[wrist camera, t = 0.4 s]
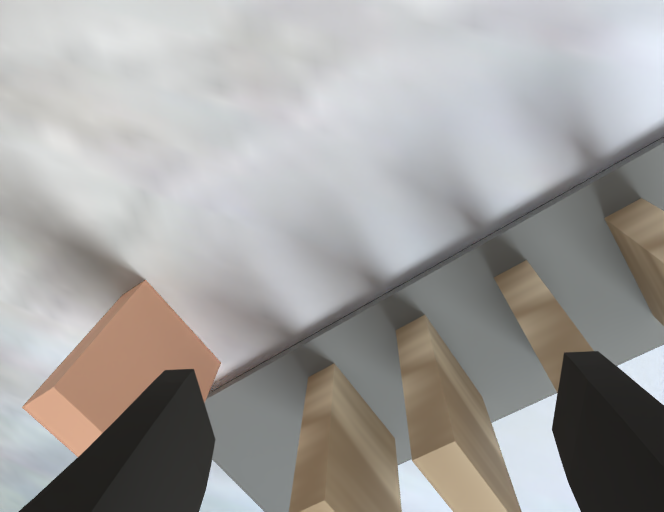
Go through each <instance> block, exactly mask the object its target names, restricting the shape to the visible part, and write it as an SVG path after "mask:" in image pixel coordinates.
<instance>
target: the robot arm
mask: <svg viewBox="0 0 664 512" xmlns="http://www.w3.org/2000/svg"><path fill="white" fill-rule="evenodd" d="M552 431H553V434H554V438H555V441H556V445H557V448H558V451H559V455H560V458H561V461H562V464H563V467H564V471H565V474H566V477H567V480H568V483H569V485H570V487H571V490H572V492H573V494H574V497H575V499H576V501H577V504H578V506H579V508H580V510H581V512H664V405H662V404H661V403H660V402H659V401H658V400H656V399H655V398H654V397H653V396H652V395H650V394H649V393H648V392H647V391H646V390H644V389H643V388H642V387H641V386H640V385H638V384H637V383H636V382H635V381H634V380H632V379H631V378H630V377H629V376H628V375H626V374H625V373H624V372H623V371H622V370H620V369H619V368H618V367H617V366H616V365H614V364H613V363H612V362H611V361H610V360H608V359H607V358H606V357H605V356H604V355H602V354H601V353H600V352H599V351H587V352H564V356H563V363H562V369H561V375H560V382H559V388H558V394H557V401H556V407H555V413H554V420H553V426H552ZM215 440H216V439H215V436H214V433H213V430H212V426H211V423H210V420H209V417H208V413H207V410H206V407H205V403H204V400H203V397H202V394H201V390H200V387H199V384H198V381H197V377H196V374H195V371H194V369H177V370H165V371H163V372H162V373H161V374H160V375H159V376H158V377H157V378H156V379H155V380H154V381H153V382H152V383H151V384H150V385H149V386H148V387H147V388H146V389H145V390H144V391H143V392H142V393H141V395H140V396H139V397H138V398H137V399H136V400H135V401H134V402H133V403H132V404H131V405H130V406H129V407H128V408H127V409H126V410H125V411H124V412H123V413H122V414H121V415H120V416H119V417H118V418H117V419H116V420H115V421H114V422H113V423H112V424H111V425H110V426H109V427H108V428H107V429H106V430H105V431H104V432H103V433H102V434H101V435H100V436H99V437H98V438H97V439H96V440H95V441H94V442H93V443H92V444H91V445H90V446H89V447H88V448H87V449H86V450H85V451H84V452H83V453H82V454H81V455H80V456H79V457H78V458H77V459H76V460H75V461H73V462H72V463H71V464H70V465H69V466H68V467H67V468H66V469H65V470H64V471H63V472H62V473H61V474H59V475H58V476H57V477H56V478H55V479H54V480H53V481H52V482H51V483H50V484H49V485H48V486H47V487H45V488H44V489H43V490H42V491H41V492H40V493H39V494H38V495H37V496H36V497H35V498H34V499H32V500H31V501H30V502H29V503H28V504H27V505H26V506H24V507H23V508H22V509H21V510H20V511H19V512H199V510H200V506H201V503H202V500H203V497H204V494H205V490H206V486H207V481H208V477H209V472H210V467H211V462H212V456H213V451H214V445H215Z"/></svg>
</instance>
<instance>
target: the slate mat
mask: <svg viewBox="0 0 664 512" xmlns="http://www.w3.org/2000/svg"><path fill="white" fill-rule="evenodd" d="M641 198H642V199H644V200H646V201H648V202H649V203H651V204H653V205H654V206H656V207H658V208H659V209H661V210H663V211H664V137H663V138H661V139H659V140H657V141H656V142H654V143H652V144H650V145H649V146H647V147H645V148H643V149H641V150H640V151H638V152H636V153H634V154H633V155H631V156H629V157H627V158H625V159H624V160H622V161H620V162H618V163H617V164H615V165H613V166H611V167H610V168H608V169H606V170H604V171H602V172H601V173H599V174H597V175H595V176H594V177H592V178H590V179H588V180H586V181H585V182H583V183H581V184H579V185H578V186H576V187H574V188H572V189H571V190H569V191H567V192H565V193H563V194H562V195H560V196H558V197H556V198H555V199H553V200H551V201H549V202H547V203H546V204H544V205H542V206H540V207H539V208H537V209H535V210H533V211H532V212H530V213H528V214H526V215H524V216H523V217H521V218H519V219H517V220H516V221H514V222H512V223H510V224H508V225H507V226H505V227H503V228H501V229H500V230H498V231H496V232H494V233H493V234H491V235H489V236H487V237H485V238H484V239H482V240H480V241H478V242H477V243H475V244H473V245H471V246H469V247H468V248H466V249H464V250H462V251H461V252H459V253H457V254H455V255H453V256H452V257H450V258H448V259H446V260H445V261H443V262H441V263H439V264H438V265H436V266H434V267H432V268H430V269H429V270H427V271H425V272H423V273H422V274H420V275H418V276H416V277H414V278H413V279H411V280H409V281H407V282H406V283H404V284H402V285H400V286H399V287H397V288H395V289H393V290H391V291H390V292H388V293H386V294H384V295H383V296H381V297H379V298H377V299H375V300H374V301H372V302H370V303H368V304H367V305H365V306H363V307H361V308H360V309H358V310H356V311H354V312H352V313H351V314H349V315H347V316H345V317H344V318H342V319H340V320H338V321H336V322H335V323H333V324H331V325H329V326H328V327H326V328H324V329H322V330H321V331H319V332H317V333H315V334H313V335H312V336H310V337H308V338H306V339H305V340H303V341H301V342H299V343H297V344H296V345H294V346H292V347H290V348H289V349H287V350H285V351H283V352H281V353H280V354H278V355H276V356H274V357H273V358H271V359H269V360H267V361H266V362H264V363H262V364H260V365H258V366H257V367H255V368H253V369H251V370H250V371H248V372H246V373H244V374H242V375H241V376H239V377H237V378H235V379H234V380H232V381H230V382H228V383H227V384H225V385H223V386H221V387H219V388H218V389H216V390H214V391H212V392H211V393H209V394H208V396H207V398H206V401H205V407H206V410H207V413H208V417H209V420H210V423H211V426H212V430H213V433H214V436H215V439H216V440H215V445H214V451H213V456H212V460H213V461H214V462H215V463H216V464H217V465H218V466H219V467H220V468H221V469H222V470H223V471H224V472H225V473H226V474H227V475H228V476H229V477H230V478H231V479H232V480H233V481H234V482H235V483H236V484H237V485H238V486H239V487H240V488H241V489H242V490H243V491H244V492H245V493H246V494H247V495H248V496H249V497H250V498H251V499H252V500H253V501H254V502H255V503H256V504H257V505H258V506H259V507H260V508H261V509H262V510H263V511H264V512H289V507H290V500H291V493H292V486H293V479H294V472H295V465H296V458H297V451H298V444H299V438H300V431H301V424H302V417H303V410H304V403H305V396H306V389H307V382H308V377H310V376H312V375H314V374H315V373H317V372H319V371H321V370H323V369H325V368H327V367H328V366H330V365H332V364H334V363H335V365H336V366H337V367H338V368H339V370H340V371H341V372H342V373H343V375H344V376H345V377H346V378H347V380H348V381H349V382H350V383H351V385H352V386H353V387H354V388H355V389H356V391H357V392H358V393H359V394H360V396H361V397H362V398H363V399H364V401H365V402H366V403H367V404H368V406H369V407H370V408H371V409H372V411H373V412H374V413H375V414H376V416H377V417H378V418H379V419H380V420H381V422H382V423H383V424H384V425H385V427H386V428H387V429H388V430H389V432H390V433H391V434H392V435H393V437H394V438H395V444H396V455H397V465H400V464H402V463H404V462H406V461H408V460H411V459H412V456H411V448H410V440H409V432H408V424H407V416H406V409H405V401H404V393H403V385H402V377H401V369H400V361H399V353H398V345H397V337H396V330H397V329H399V328H401V327H403V326H405V325H406V324H408V323H410V322H412V321H414V320H416V319H418V318H420V317H421V316H423V315H426V317H427V318H428V320H429V321H430V323H431V324H432V325H433V327H434V328H435V330H436V331H437V333H438V334H439V336H440V337H441V338H442V340H443V341H444V343H445V344H446V346H447V347H448V348H449V350H450V351H451V353H452V354H453V356H454V357H455V358H456V360H457V361H458V363H459V364H460V366H461V367H462V369H463V370H464V371H465V373H466V374H467V376H468V377H469V379H470V380H471V381H472V383H473V384H474V386H475V387H476V389H477V390H478V392H479V393H480V394H481V396H482V397H483V400H484V403H485V406H486V409H487V412H488V415H489V418H490V421H491V423H492V422H494V421H496V420H499V419H501V418H503V417H505V416H507V415H510V414H512V413H514V412H516V411H518V410H521V409H523V408H525V407H527V406H529V405H532V404H534V403H536V402H538V401H540V400H543V399H545V398H547V397H549V396H551V395H554V394H556V393H557V391H556V390H555V388H554V386H553V384H552V382H551V380H550V379H549V377H548V375H547V373H546V371H545V370H544V368H543V366H542V364H541V362H540V361H539V359H538V357H537V355H536V353H535V352H534V350H533V348H532V346H531V344H530V342H529V341H528V339H527V337H526V335H525V333H524V332H523V330H522V328H521V326H520V324H519V323H518V321H517V319H516V317H515V315H514V314H513V312H512V310H511V308H510V306H509V304H508V303H507V301H506V299H505V297H504V295H503V294H502V292H501V290H500V288H499V286H498V285H497V283H496V281H495V279H494V277H496V276H498V275H499V274H501V273H503V272H505V271H507V270H509V269H511V268H512V267H514V266H516V265H518V264H520V263H522V262H524V261H525V260H527V261H528V262H529V264H530V265H531V267H532V268H533V269H534V271H535V272H536V273H537V275H538V276H539V277H540V279H541V280H542V281H543V283H544V284H545V285H546V287H547V288H548V289H549V291H550V292H551V294H552V295H553V296H554V298H555V299H556V300H557V302H558V303H559V304H560V306H561V307H562V308H563V310H564V311H565V312H566V314H567V315H568V316H569V318H570V319H571V321H572V322H573V323H574V325H575V326H576V327H577V329H578V330H579V331H580V333H581V334H582V335H583V337H584V338H585V339H586V341H587V342H588V343H589V345H590V346H591V348H592V349H593V350H594V351H599V352H600V353H601V354H602V355H604V356H605V357H606V358H607V359H608V360H610V361H611V362H612V363H613V364H614V365H616V366H618V365H620V364H622V363H624V362H626V361H629V360H631V359H633V358H635V357H637V356H640V355H642V354H644V353H646V352H648V351H651V350H653V349H655V348H657V347H659V346H662V345H664V326H663V325H662V324H661V323H660V322H659V321H658V320H657V319H656V318H655V317H654V316H653V314H652V312H651V310H650V308H649V306H648V304H647V302H646V300H645V298H644V296H643V294H642V292H641V290H640V288H639V286H638V284H637V282H636V280H635V278H634V276H633V274H632V272H631V270H630V268H629V266H628V264H627V262H626V260H625V258H624V256H623V254H622V252H621V250H620V249H619V247H618V245H617V243H616V241H615V239H614V237H613V235H612V233H611V231H610V229H609V227H608V225H607V223H606V221H605V219H604V218H605V217H607V216H609V215H611V214H613V213H615V212H617V211H618V210H620V209H622V208H624V207H626V206H628V205H630V204H631V203H633V202H635V201H637V200H639V199H641Z"/></svg>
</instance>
